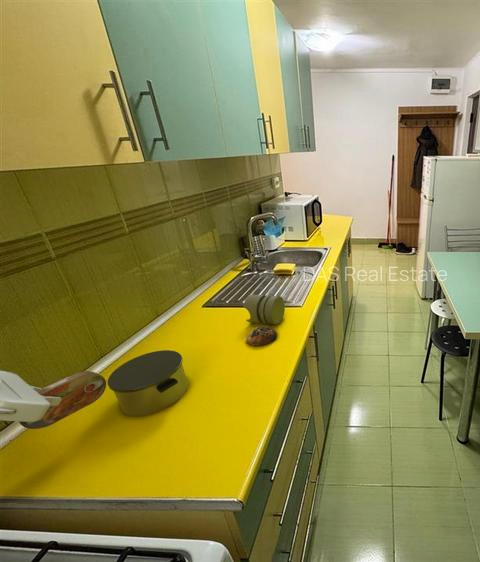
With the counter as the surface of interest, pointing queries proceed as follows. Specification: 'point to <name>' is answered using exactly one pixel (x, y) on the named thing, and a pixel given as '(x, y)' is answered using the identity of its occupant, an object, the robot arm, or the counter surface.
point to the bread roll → (261, 335)
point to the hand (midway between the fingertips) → (55, 397)
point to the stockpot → (149, 382)
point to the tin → (70, 397)
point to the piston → (265, 309)
